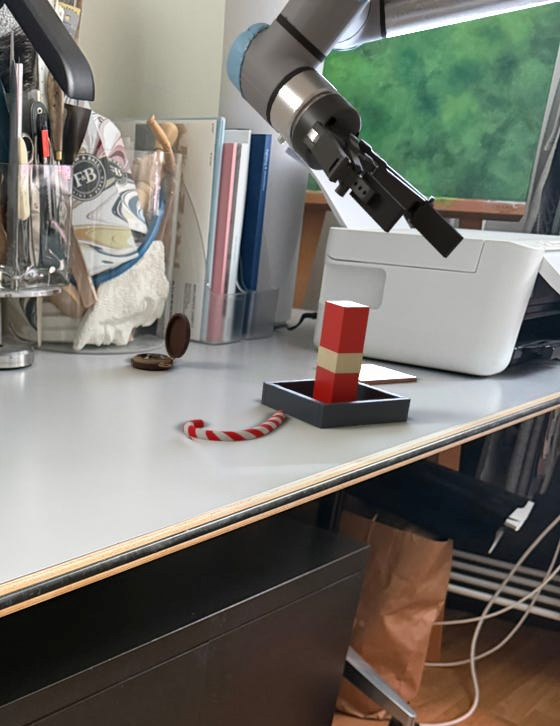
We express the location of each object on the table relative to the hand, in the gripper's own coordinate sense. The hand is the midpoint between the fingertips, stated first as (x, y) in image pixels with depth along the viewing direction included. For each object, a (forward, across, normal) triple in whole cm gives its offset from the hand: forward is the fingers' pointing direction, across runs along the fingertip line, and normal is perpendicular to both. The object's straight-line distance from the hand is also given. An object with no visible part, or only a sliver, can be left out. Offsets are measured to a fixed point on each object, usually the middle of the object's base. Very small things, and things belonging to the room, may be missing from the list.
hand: (426, 235), depth 102 cm
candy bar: (+7, +3, -19) cm, 21 cm away
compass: (-20, -2, -36) cm, 42 cm away
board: (-3, -19, -21) cm, 29 cm away
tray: (+8, +2, -20) cm, 21 cm away
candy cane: (+8, +16, -24) cm, 30 cm away
